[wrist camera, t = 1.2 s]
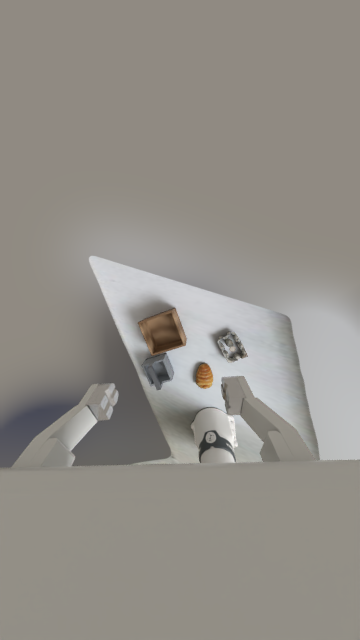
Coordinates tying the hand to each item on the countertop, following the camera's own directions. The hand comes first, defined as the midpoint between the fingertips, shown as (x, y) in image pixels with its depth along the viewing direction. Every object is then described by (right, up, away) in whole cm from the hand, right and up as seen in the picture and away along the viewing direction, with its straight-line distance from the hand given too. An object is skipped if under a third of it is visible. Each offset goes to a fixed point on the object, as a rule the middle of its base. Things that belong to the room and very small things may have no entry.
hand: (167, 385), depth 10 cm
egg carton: (+20, -5, +42) cm, 46 cm away
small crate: (-7, -14, +46) cm, 48 cm away
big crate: (-5, +2, +42) cm, 43 cm away
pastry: (+10, -17, +45) cm, 49 cm away
